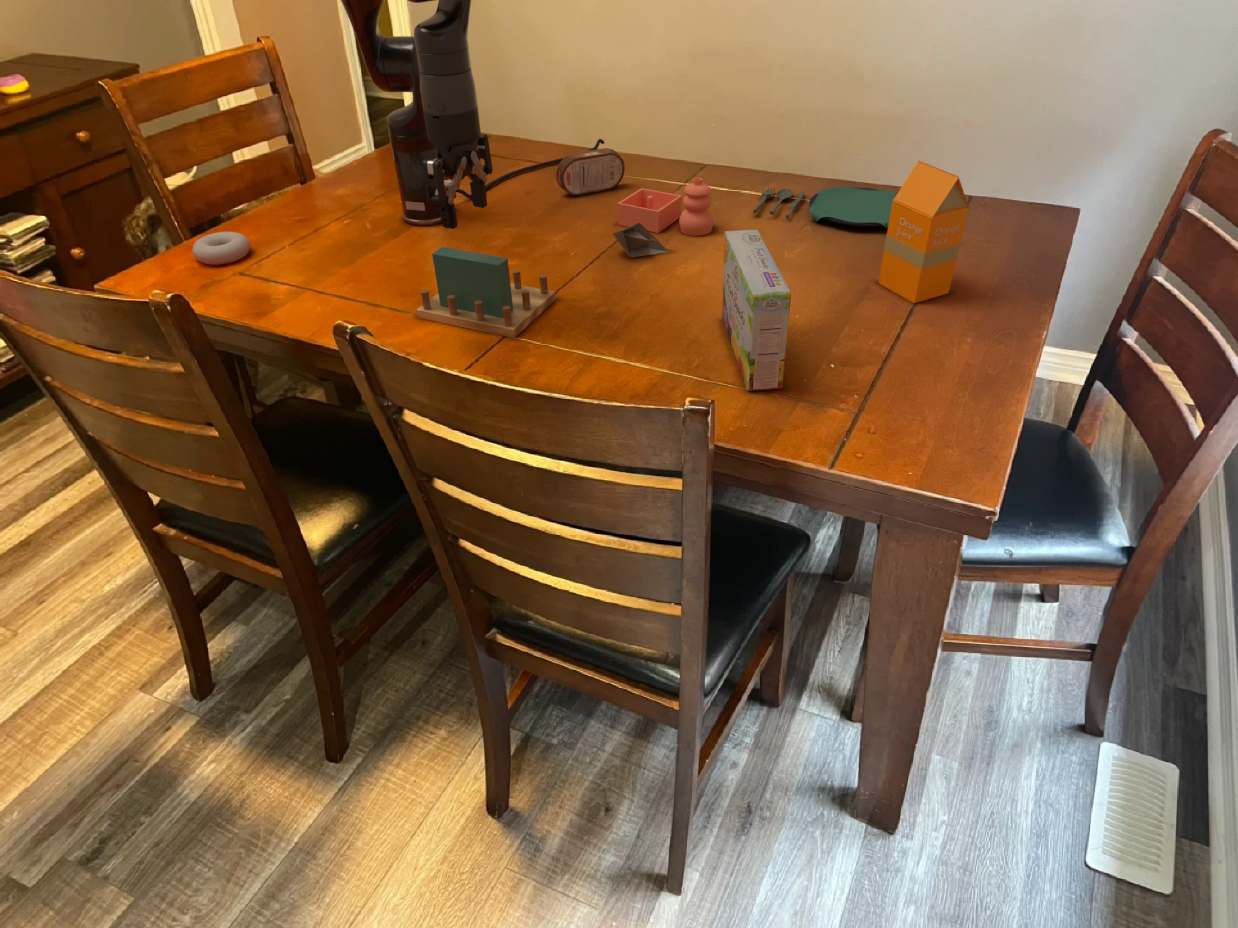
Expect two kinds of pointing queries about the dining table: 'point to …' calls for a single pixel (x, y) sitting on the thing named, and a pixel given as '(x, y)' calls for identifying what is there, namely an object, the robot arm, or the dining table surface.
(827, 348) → the dining table surface
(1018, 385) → the dining table surface
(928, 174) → the orange juice
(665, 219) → the pottery
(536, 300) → the rack
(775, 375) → the snack box
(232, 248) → the donut
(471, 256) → the teal rectangular block
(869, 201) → the cutlery set
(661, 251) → the paper boat
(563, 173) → the tin
